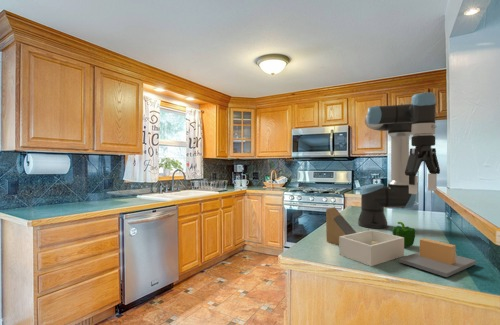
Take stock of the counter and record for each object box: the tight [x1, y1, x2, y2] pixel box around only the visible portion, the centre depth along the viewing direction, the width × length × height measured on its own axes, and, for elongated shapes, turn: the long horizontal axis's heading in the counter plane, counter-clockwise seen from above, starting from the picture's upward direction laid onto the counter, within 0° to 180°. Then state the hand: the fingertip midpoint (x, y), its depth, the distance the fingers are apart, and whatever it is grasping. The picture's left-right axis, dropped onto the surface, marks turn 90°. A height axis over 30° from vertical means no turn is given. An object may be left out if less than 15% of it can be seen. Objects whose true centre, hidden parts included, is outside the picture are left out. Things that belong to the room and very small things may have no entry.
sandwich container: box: [325, 206, 357, 246], centre depth 120 cm, size 9×15×15 cm, turn 47°
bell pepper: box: [391, 221, 416, 248], centre depth 116 cm, size 8×8×10 cm
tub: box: [338, 229, 405, 267], centre depth 105 cm, size 20×14×7 cm
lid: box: [398, 237, 477, 278], centre depth 95 cm, size 21×15×8 cm
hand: (423, 192), depth 101 cm, fingers open, 13 cm apart
